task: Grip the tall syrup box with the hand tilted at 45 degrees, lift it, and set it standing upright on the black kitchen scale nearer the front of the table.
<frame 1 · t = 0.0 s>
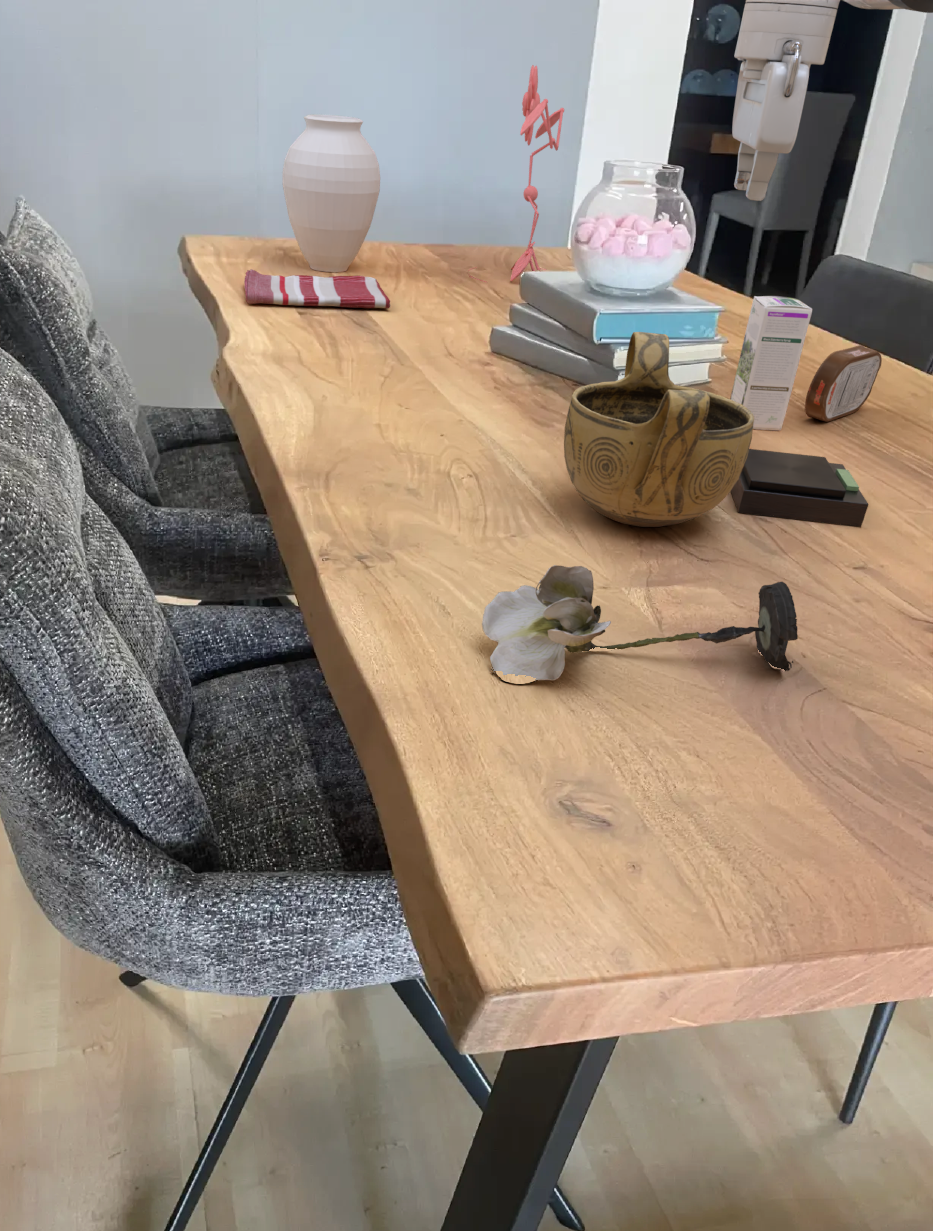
hand: (748, 194, 113), 26 cm above the table, tool pointing down, fingers open, 8 cm apart
dish towel: (314, 299, 177), on the table
scale: (789, 498, 110), on the table
artificial flower: (632, 669, 77), on the table
ceramic bowl: (638, 517, 103), on the table
syrup box: (752, 424, 132), on the table
tin: (834, 417, 137), on the table
vase: (328, 269, 200), on the table
figurine: (504, 277, 205), on the table
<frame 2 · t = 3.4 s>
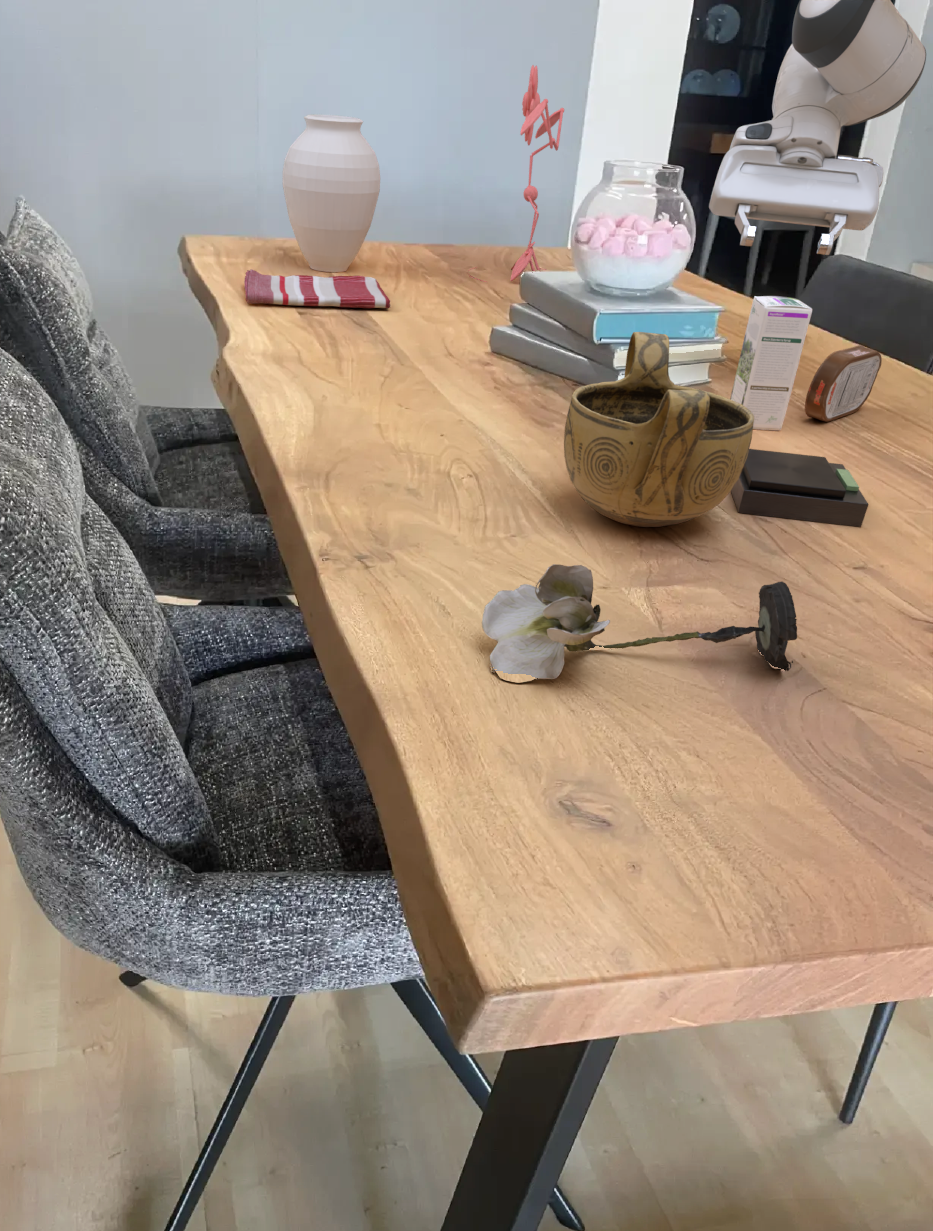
hand: (785, 246, 132), 19 cm above the table, tool tilted 45°, fingers open, 8 cm apart
nothing on the table moved.
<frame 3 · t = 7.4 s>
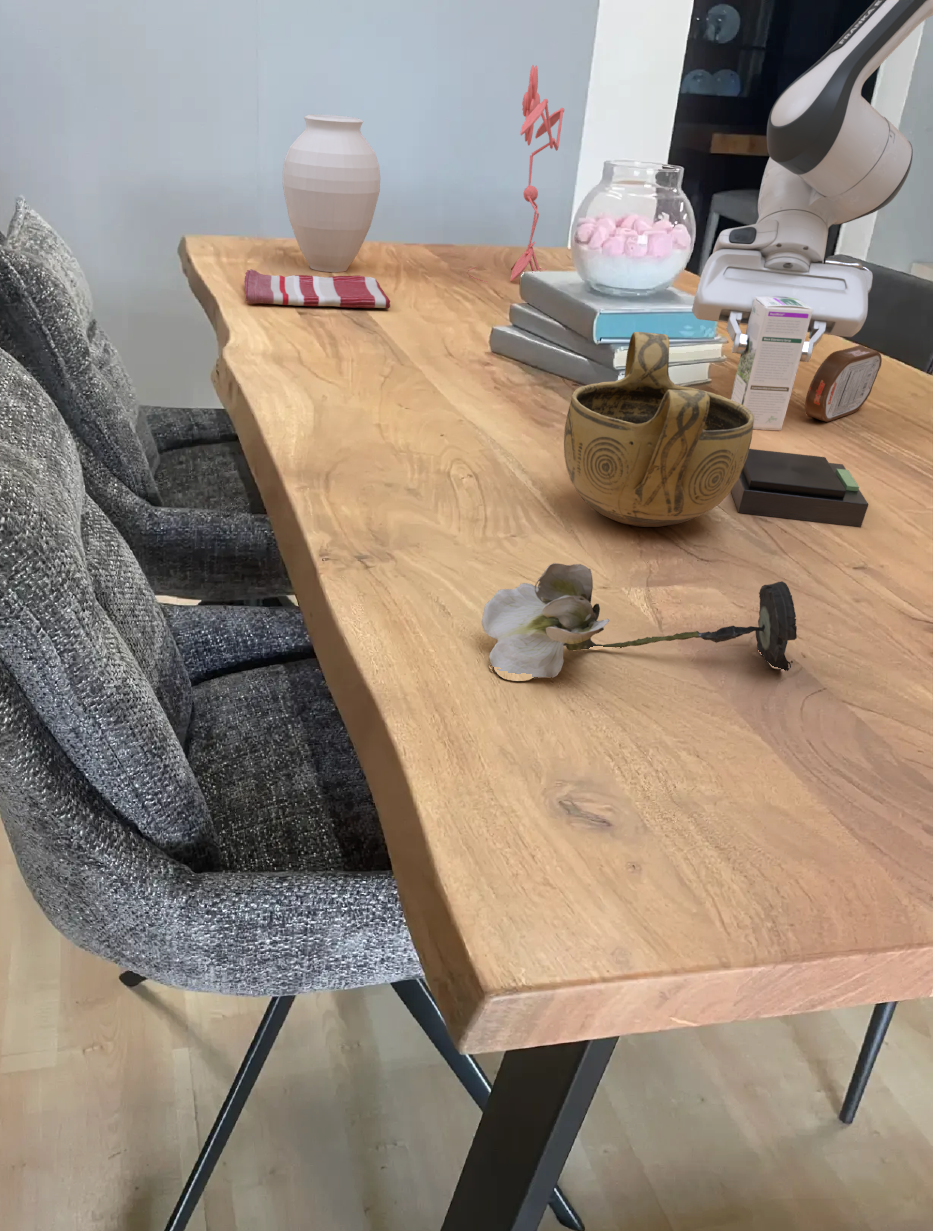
hand: (770, 354, 127), 8 cm above the table, tool tilted 45°, fingers closed on syrup box, 6 cm apart
syrup box: (752, 424, 132), on the table, touching gripper
everything else where it was.
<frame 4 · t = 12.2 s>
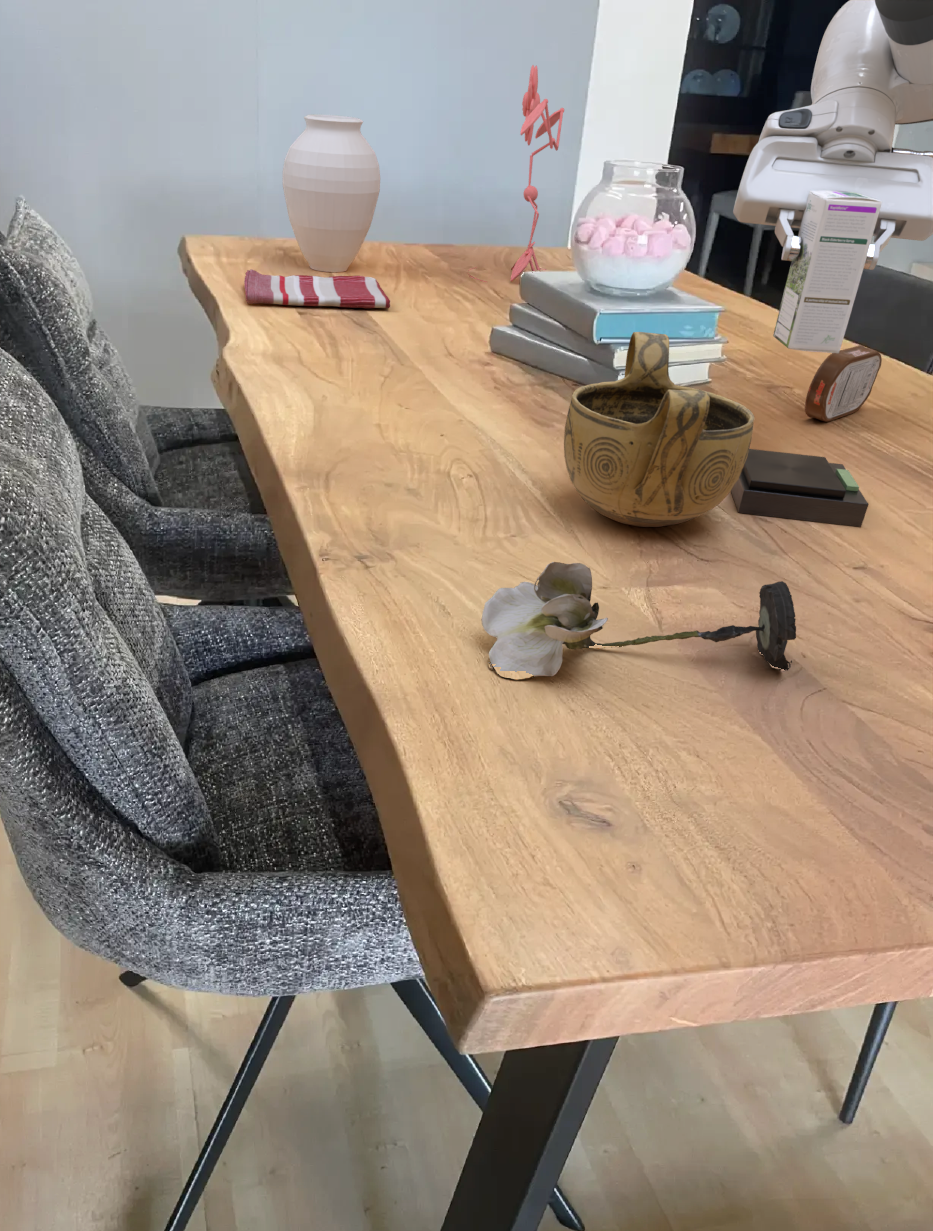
hand: (828, 261, 107), 21 cm above the table, tool tilted 45°, fingers closed on syrup box, 6 cm apart
syrup box: (803, 347, 112), point 13 cm above the table, touching gripper
everything else where it was.
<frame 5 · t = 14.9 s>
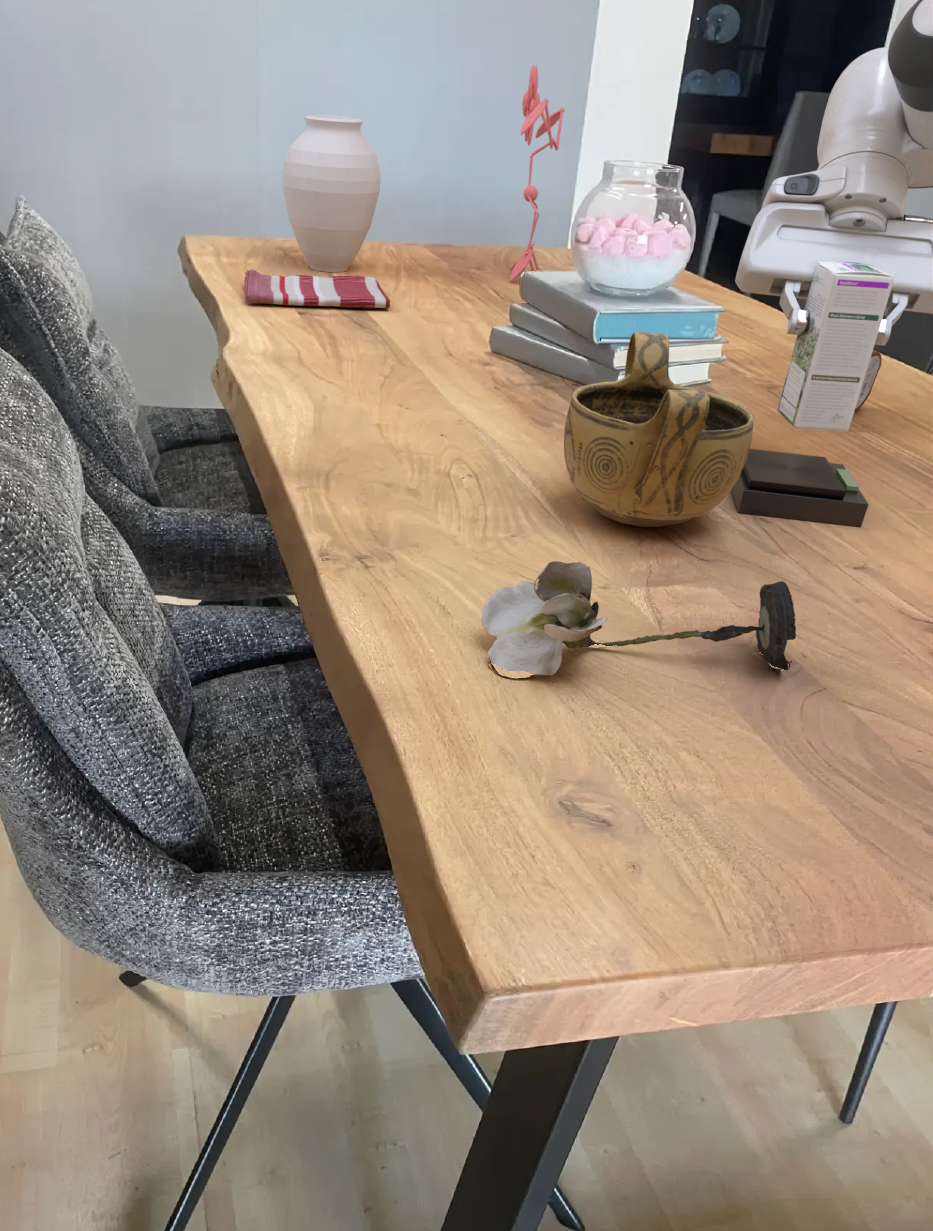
hand: (836, 336, 100), 16 cm above the table, tool tilted 45°, fingers closed on syrup box, 6 cm apart
syrup box: (810, 423, 105), point 8 cm above the table, touching gripper
everything else where it was.
when the fingers open (12 cm above the table, at t = 16.9 s): syrup box stays where it is, resting on scale.
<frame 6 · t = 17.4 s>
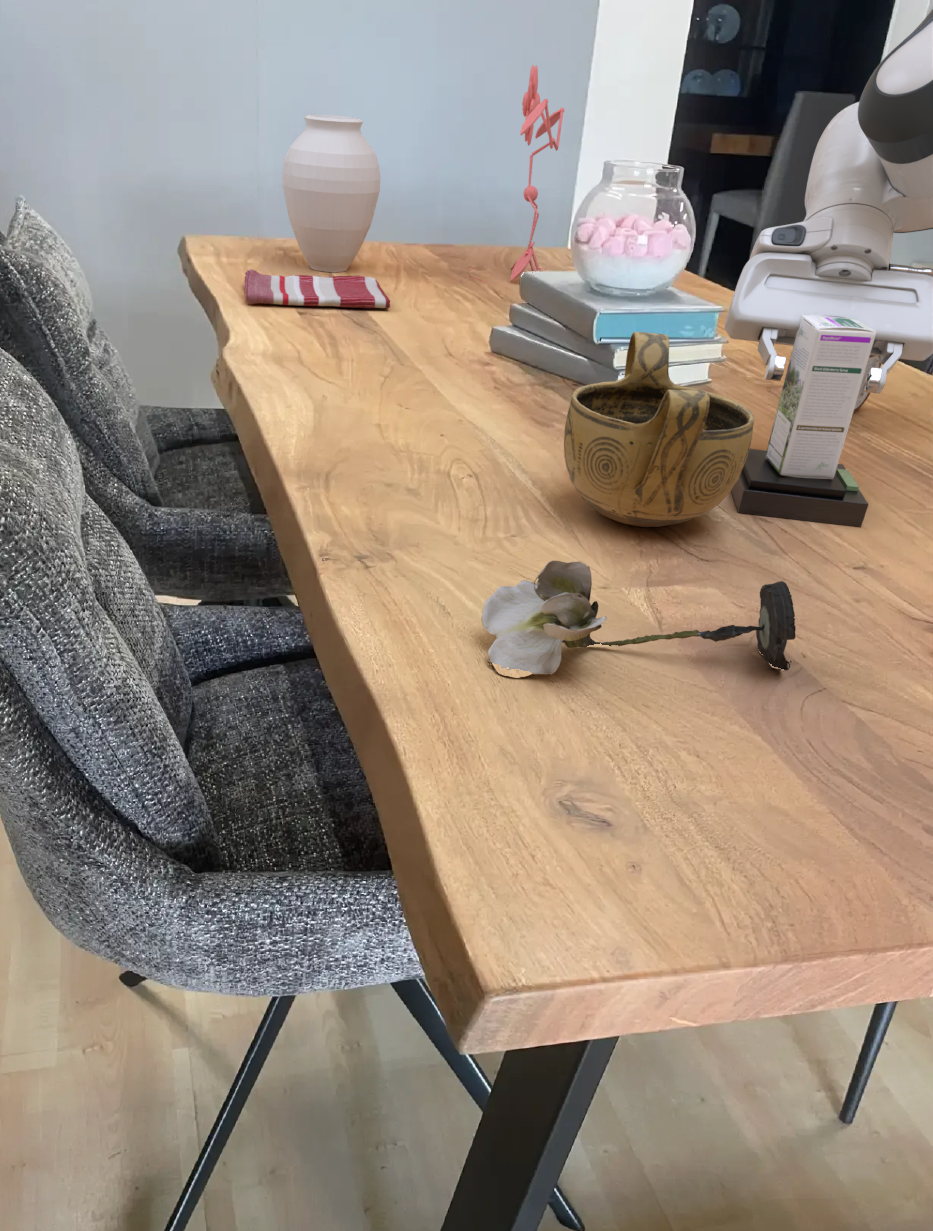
hand: (823, 383, 103), 12 cm above the table, tool tilted 45°, fingers open, 8 cm apart
syrup box: (797, 470, 108), point 3 cm above the table, touching scale
everything else where it was.
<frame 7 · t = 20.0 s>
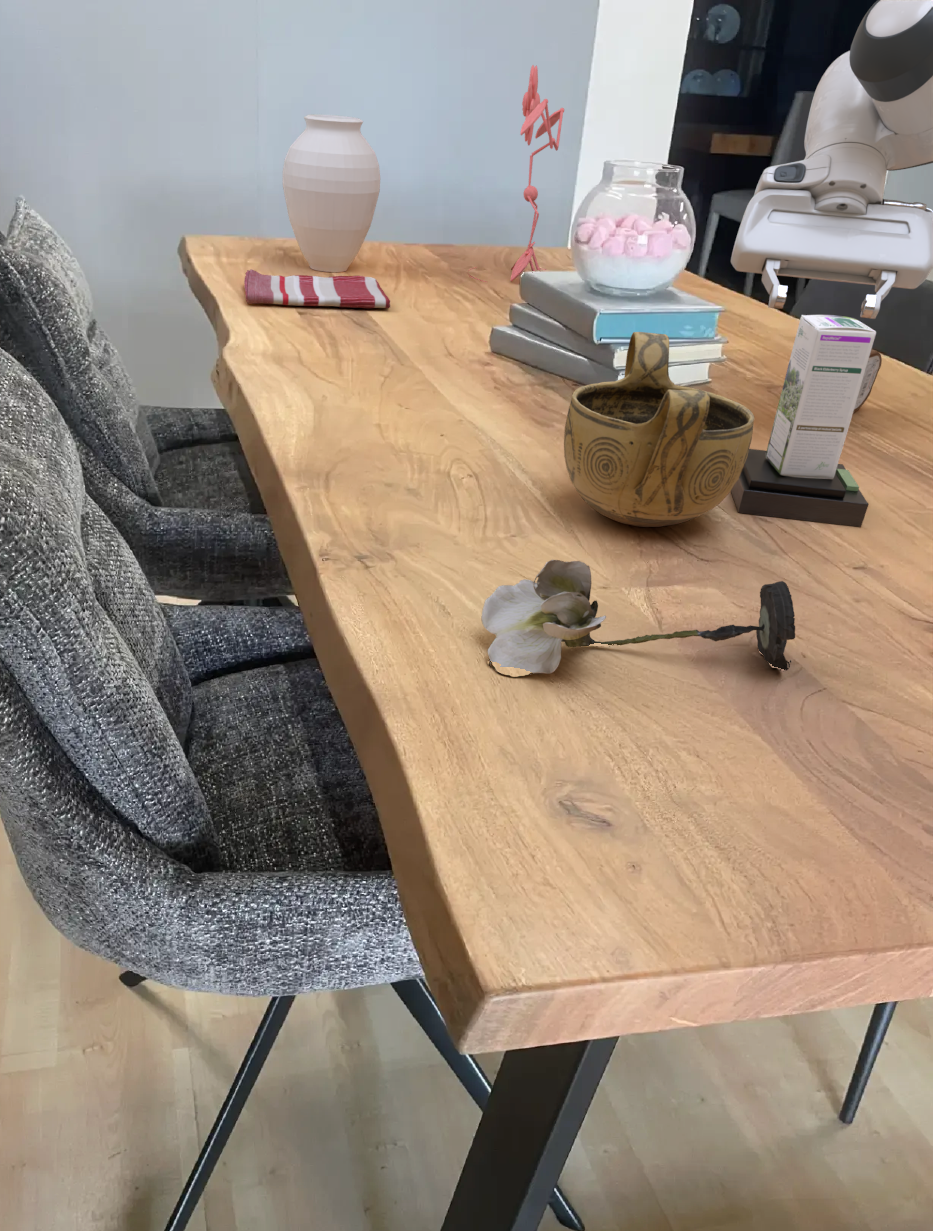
hand: (822, 309, 111), 16 cm above the table, tool tilted 45°, fingers open, 8 cm apart
nothing on the table moved.
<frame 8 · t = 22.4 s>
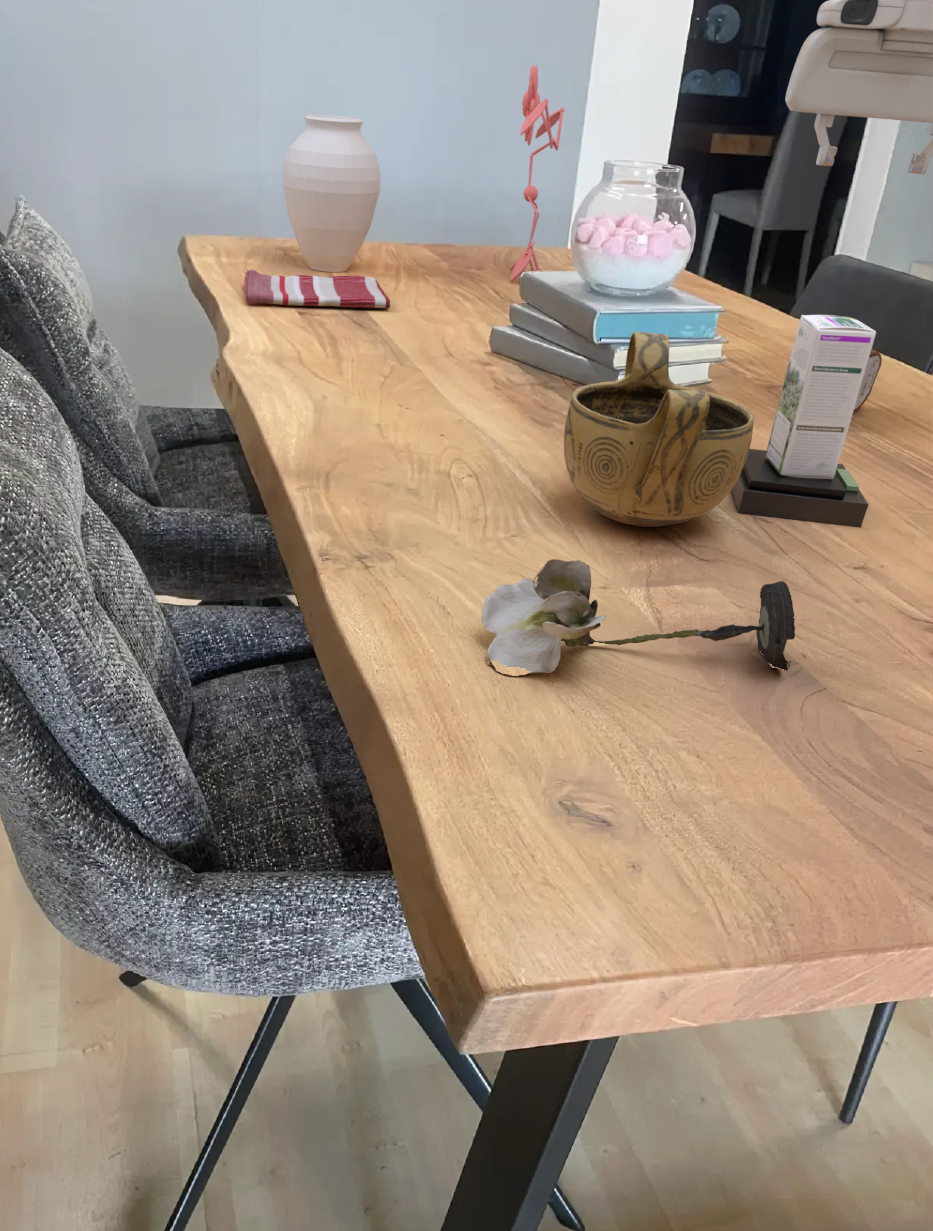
hand: (869, 169, 111), 29 cm above the table, tool pointing down, fingers open, 8 cm apart
nothing on the table moved.
at the end: syrup box inside the target area on the scale (0.8 cm from its centre), point 3.0 cm above the scale's base; syrup box tilted 0°; the gripper is holding nothing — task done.
